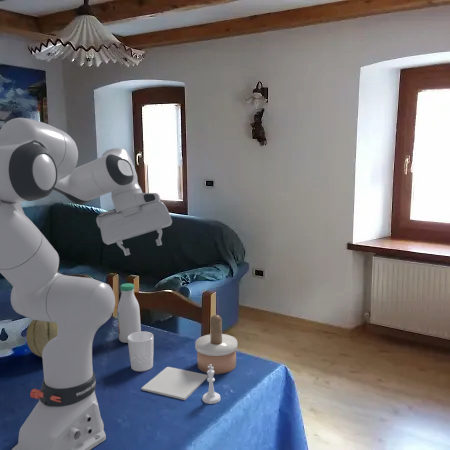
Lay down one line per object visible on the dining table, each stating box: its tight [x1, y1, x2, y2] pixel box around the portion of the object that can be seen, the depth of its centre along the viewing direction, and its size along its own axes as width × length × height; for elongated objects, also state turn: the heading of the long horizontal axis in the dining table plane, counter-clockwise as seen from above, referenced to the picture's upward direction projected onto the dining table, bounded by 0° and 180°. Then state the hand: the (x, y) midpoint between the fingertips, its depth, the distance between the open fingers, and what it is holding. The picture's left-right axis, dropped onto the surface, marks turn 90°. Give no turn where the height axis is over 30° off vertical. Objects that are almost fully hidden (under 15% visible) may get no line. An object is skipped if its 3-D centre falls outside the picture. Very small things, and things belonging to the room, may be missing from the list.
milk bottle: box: [117, 282, 142, 344], centre depth 169 cm, size 8×8×20 cm
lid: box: [194, 314, 238, 356], centre depth 148 cm, size 13×13×10 cm
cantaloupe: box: [26, 319, 58, 358], centre depth 158 cm, size 15×15×15 cm
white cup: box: [127, 330, 155, 372], centre depth 149 cm, size 8×8×10 cm
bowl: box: [196, 349, 237, 375], centre depth 150 cm, size 12×12×6 cm
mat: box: [141, 366, 209, 401], centre depth 139 cm, size 14×14×1 cm
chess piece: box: [201, 364, 221, 405], centre depth 130 cm, size 5×5×10 cm
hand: (143, 250), depth 137 cm, fingers open, 8 cm apart
